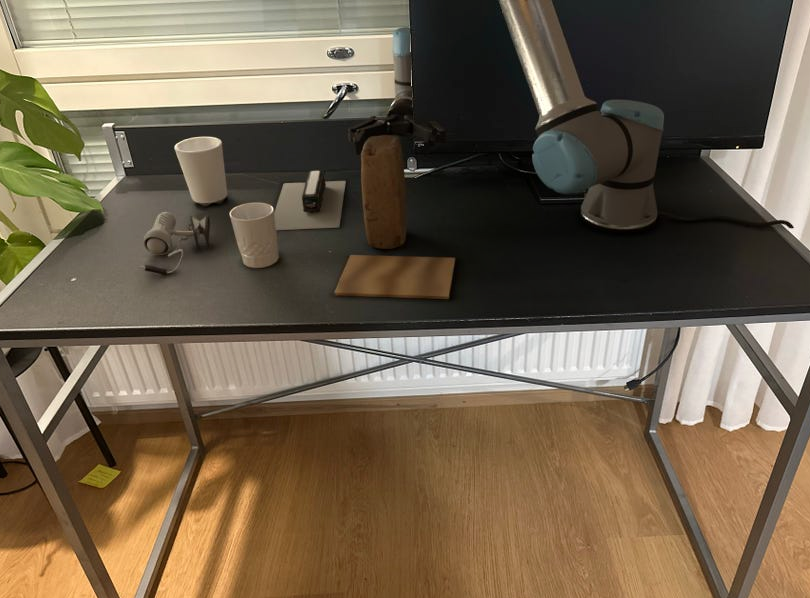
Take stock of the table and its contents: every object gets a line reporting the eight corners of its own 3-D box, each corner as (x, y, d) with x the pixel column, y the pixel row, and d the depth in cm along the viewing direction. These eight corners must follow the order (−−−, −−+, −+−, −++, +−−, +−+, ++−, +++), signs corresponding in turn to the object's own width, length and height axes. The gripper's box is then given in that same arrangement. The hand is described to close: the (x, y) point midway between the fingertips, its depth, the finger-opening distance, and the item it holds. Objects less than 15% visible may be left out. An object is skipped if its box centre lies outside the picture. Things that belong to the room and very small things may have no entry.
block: (402, 252, 134) (396, 150, 122) (364, 251, 135) (354, 149, 123) (410, 227, 142) (406, 130, 131) (374, 226, 143) (367, 129, 131)
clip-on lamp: (198, 288, 131) (216, 227, 142) (191, 262, 126) (211, 202, 137) (134, 285, 130) (158, 224, 142) (125, 259, 125) (151, 198, 137)
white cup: (289, 253, 135) (281, 204, 129) (268, 272, 129) (259, 222, 123) (253, 248, 137) (244, 200, 131) (231, 266, 131) (220, 217, 125)
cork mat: (455, 260, 131) (455, 257, 130) (448, 299, 120) (448, 296, 119) (350, 257, 133) (350, 254, 132) (334, 295, 122) (334, 292, 121)
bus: (345, 180, 164) (343, 163, 161) (339, 227, 143) (337, 208, 141) (283, 183, 163) (281, 166, 161) (268, 230, 143) (265, 211, 141)
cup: (213, 188, 162) (201, 133, 154) (242, 197, 157) (231, 141, 150) (178, 202, 156) (164, 146, 148) (207, 213, 151) (194, 155, 143)
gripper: (461, 132, 156) (454, 168, 139) (352, 131, 158) (331, 165, 141) (461, 98, 151) (454, 130, 134) (349, 97, 154) (327, 128, 137)
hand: (391, 148), depth 138 cm, fingers open, 13 cm apart
